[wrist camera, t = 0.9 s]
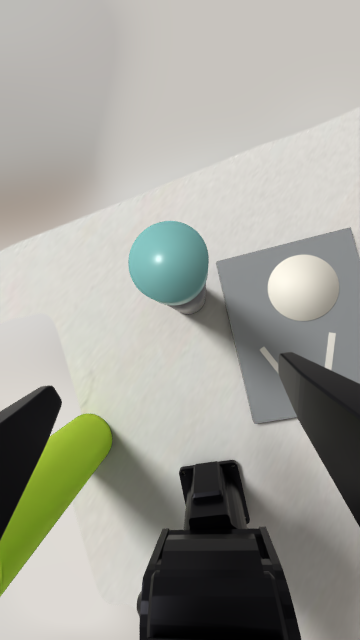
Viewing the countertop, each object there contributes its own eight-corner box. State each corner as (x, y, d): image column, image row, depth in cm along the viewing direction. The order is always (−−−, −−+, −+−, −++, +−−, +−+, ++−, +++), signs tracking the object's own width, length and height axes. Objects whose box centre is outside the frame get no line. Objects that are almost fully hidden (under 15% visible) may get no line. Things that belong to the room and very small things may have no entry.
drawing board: (390, 398, 20) (399, 401, 19) (252, 420, 22) (254, 424, 21) (345, 230, 21) (351, 226, 20) (216, 263, 23) (216, 261, 22)
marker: (209, 310, 23) (216, 290, 10) (174, 318, 23) (137, 309, 10) (201, 275, 23) (198, 211, 10) (167, 284, 23) (121, 233, 11)
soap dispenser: (55, 418, 25) (-548, 797, 5) (107, 410, 24) (-364, 819, 4) (63, 466, 24) (-547, 1080, 5) (116, 459, 24) (-345, 1161, 4)
